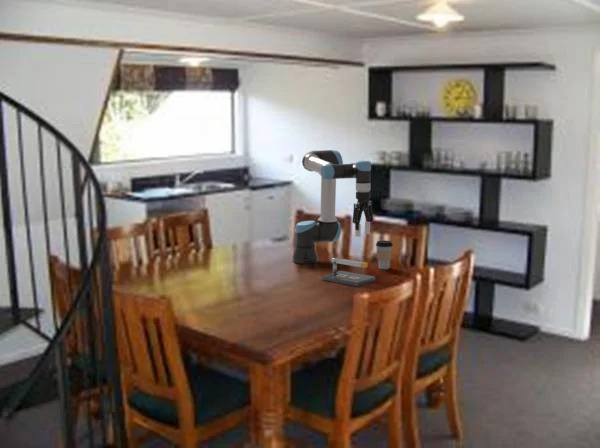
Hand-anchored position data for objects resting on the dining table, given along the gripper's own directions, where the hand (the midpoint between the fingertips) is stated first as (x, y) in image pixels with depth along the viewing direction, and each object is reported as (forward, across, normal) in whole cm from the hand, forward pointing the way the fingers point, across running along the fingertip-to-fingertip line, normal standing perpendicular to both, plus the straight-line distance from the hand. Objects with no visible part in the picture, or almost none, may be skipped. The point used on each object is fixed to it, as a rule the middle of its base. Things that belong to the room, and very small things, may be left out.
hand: (362, 235), depth 341 cm
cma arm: (+15, -7, +4) cm, 17 cm away
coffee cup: (+23, +28, +5) cm, 37 cm away
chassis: (+23, -6, +4) cm, 24 cm away
